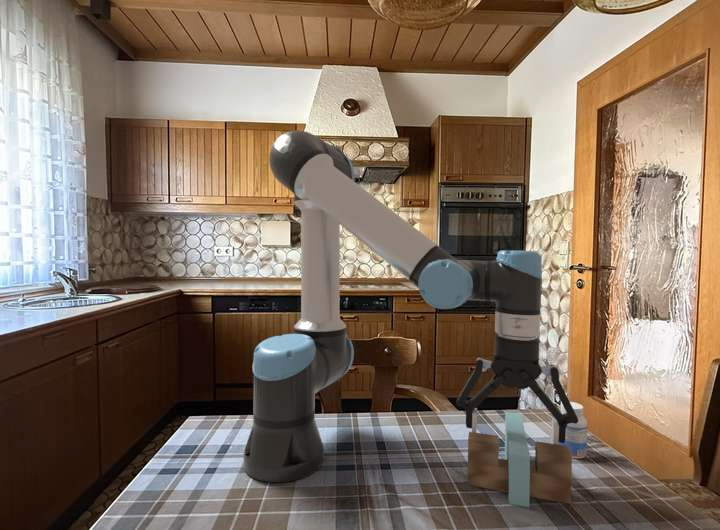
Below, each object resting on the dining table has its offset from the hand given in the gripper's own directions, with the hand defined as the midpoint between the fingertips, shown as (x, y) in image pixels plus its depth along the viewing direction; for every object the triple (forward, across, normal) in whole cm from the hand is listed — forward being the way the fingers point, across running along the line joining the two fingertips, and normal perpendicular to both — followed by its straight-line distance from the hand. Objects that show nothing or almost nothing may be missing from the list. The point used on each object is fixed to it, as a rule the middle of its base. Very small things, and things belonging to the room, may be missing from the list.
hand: (512, 452), depth 70 cm
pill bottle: (+4, +12, +13) cm, 18 cm away
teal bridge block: (+4, +1, 0) cm, 4 cm away
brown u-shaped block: (+4, 0, -4) cm, 6 cm away
